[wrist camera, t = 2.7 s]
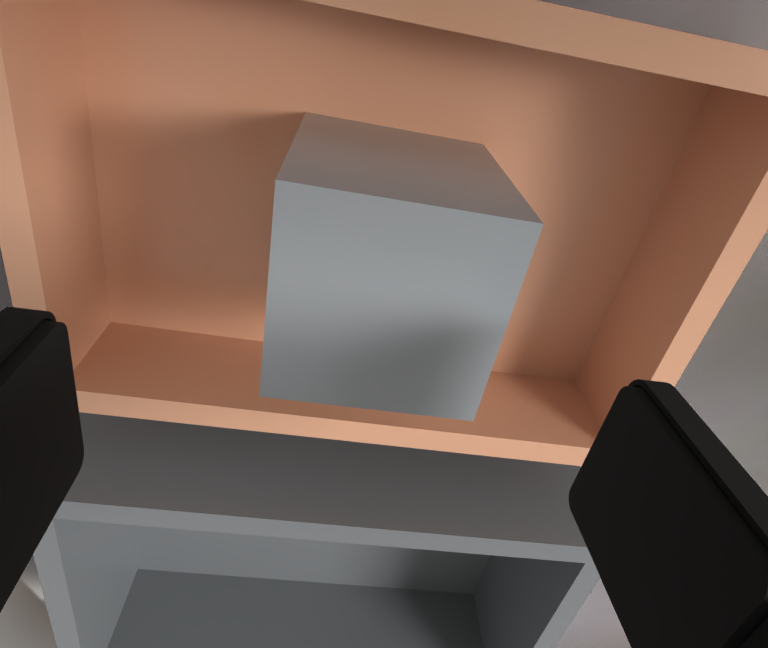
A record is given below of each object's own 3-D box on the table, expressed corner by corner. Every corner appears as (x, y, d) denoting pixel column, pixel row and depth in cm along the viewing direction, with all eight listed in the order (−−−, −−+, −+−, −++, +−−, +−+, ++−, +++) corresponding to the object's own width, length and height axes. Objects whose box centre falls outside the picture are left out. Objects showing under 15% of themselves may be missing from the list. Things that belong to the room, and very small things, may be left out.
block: (305, 112, 15) (275, 179, 9) (483, 144, 15) (543, 223, 10) (289, 275, 17) (259, 396, 12) (442, 296, 18) (473, 421, 13)
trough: (51, -100, 13) (-81, -135, 9) (734, 49, 15) (861, 70, 11) (99, 322, 19) (34, 406, 15) (577, 383, 21) (624, 470, 17)
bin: (105, 367, 20) (17, 497, 15) (560, 421, 22) (618, 550, 17) (127, 562, 26) (71, 700, 21) (481, 589, 29) (507, 720, 23)
